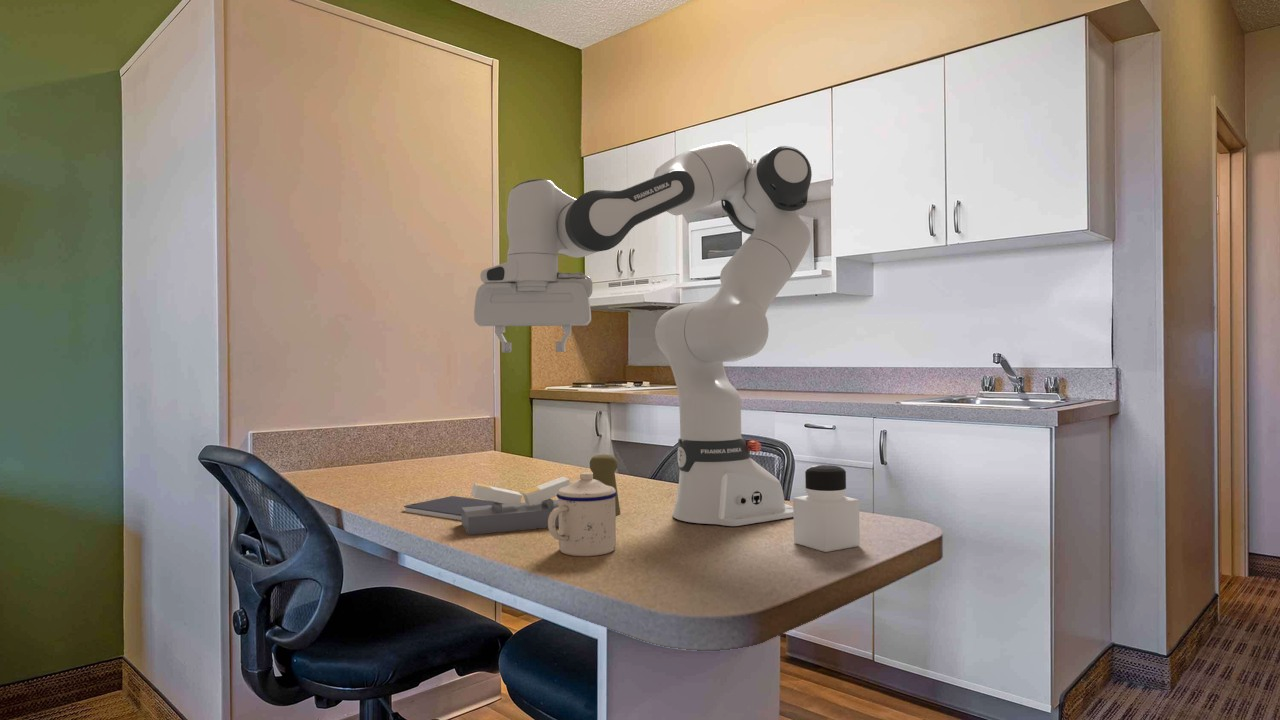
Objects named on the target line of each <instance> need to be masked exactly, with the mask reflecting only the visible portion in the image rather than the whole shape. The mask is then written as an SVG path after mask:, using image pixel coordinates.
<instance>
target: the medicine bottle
mask: <svg viewBox="0 0 1280 720" xmlns="http://www.w3.org/2000/svg"><path fill="white" fill-rule="evenodd" d="M846 473H847V471H846V470H845V469H844V468H842V467H841V466H838V465H831V464H825V465H824V464H816V465H811V466H809V467H807V468H806V469H805V471H804V477H805V479H804V481H805V482H804V483H805V487H804V488H805V489H804V490H805V493H806V494H807V495H801V496H795V497H793V499H792V500H793V501H792V504H793V506H792V507H793V514H794V517H793V543H794V544H797V545H799V546H803V547H807V548H810V549H813V550H817V551H819V552H824V553H829V552H834V551H839V550H844V549H845V550H846V549H850V548H851V549H852V548H856V547H857V548H858V547H860V544H861V543H860V538H861V537H860V534H861V533H860V500H859V499H857V498H852V497H848V496H845V495H846V494H847V474H846Z"/></svg>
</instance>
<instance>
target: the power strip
mask: <svg viewBox="0 0 1280 720" xmlns="http://www.w3.org/2000/svg"><path fill="white" fill-rule="evenodd" d="M557 507H558V499H552V498H550V499H547V500H544V501H542V502H539V503H536V504H534V505H531V506H529V505H528V504H527V503H526V502H525V501H524V502H520V506H519V507H518V506H513V505H508V504H501V503H499V502H494V501H492V505H487V506H475V507H462V520H461V525H462V527H463V528H464V530H465V533H467V535H468V536H471V535H472V536H473V535H484V534H493V533H494V534H495V533H504V532H505V533H506V531H507V532H515V531H516V530H518V531H527V530H526V529H528V530H537V529H536V528H539V529H547V528H546V527H548V518H549V515H550V513H551V512H552V511H553V510H554V509H555V508H557ZM555 526H556V528H559V514H558V516H557V517H556V521H555ZM516 532H517V531H516Z"/></svg>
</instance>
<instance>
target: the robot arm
mask: <svg viewBox="0 0 1280 720" xmlns="http://www.w3.org/2000/svg"><path fill="white" fill-rule="evenodd" d="M812 175H813V174H812V165H811V164H810V161H809V159H808V158H807V156H806V155H805V154H804V153H803V152H801V151H800V150H799V149H797V148H795V147H792V146H788V145H781V146H777V147H775V148H774V147H773V148H772V149H771V150H769V151H767V152H766V153H764V154H763V155H762V156H761V157H760V158H759V160H758V162H756V164H754V163H752V162H750V161H749V160H748V158H747V156H746V154H745V153H744V151H743V149H741V147H739V146H738V144H736V143H734V142H731V141H720V142H715V143H710V144H705V145H702V146H698V147H695V148H692V149H690V150H687V151H685V152H682V153H680V154H678V155H676V156H673V157H672V158H670V159H669V160H667V161H665V162H664V163H662V164H661V165H660V166H659V167H657V168H656V170H655V172H654V174H653V177H651V178H649V179H647V180H644V181H642V182H640V183H637V184H635V185H632V186H630V187H627V188H625V189H622V190H605V189H598V190H597V189H596V190H589V191H587V192H585V193H583V194H581V195H580V196H579V197H577V198H574V197H572V196H570V195H569V194H567V193H566V192H564V191H562V189H560V188H559V187H557V186H556V184H555V183H554V182H553V181H552V180H550V179H545V178H535V179H529V180H526V181H522V182H520V183H518V184H515V186H514V187H513V188H512V189H511V190H510V192H509V194H508V200H507V208H506V209H507V210H506V233H507V236H508V244H509V245H508V249H507V255H506V262H502V263H500V264H497V265H494V266H491V267H487V268H484V269H483V270H481V272H480V273H479V274H480V280H481V282H482V284H481V285H480V286H478V288H477V291H476V295H475V300H474V307H473V308H474V309H473V310H474V311H473V312H474V313H473V317H474V319H473V320H474V323H476V324H477V326H478V327H494V333H495V335H496V337H497V338H498V340H499V341H500V343H501V353H512V352H513V351H512V350H513V348H512V347H513V345H512V344H513V343H512V342H509V341H507V339H506V337H505V336H504V334H503V333H506V327H537V326H538V327H546V326H547V327H548V326H549V327H554V326H555V327H557V326H559V327H560V326H561V332H562V333H564V334H563V336H562V338H561V340H560V341H555V352H556V353H564V352H566V342H567V341H568V340H569V337H570V335H571V333H572V326H588V325H589V324H590V323H591V321H592V311H591V310H592V309H591V303H590V302H591V301H590V297H591V296H592V294H593V280H592V279H591V277H589V276H588V275H586V274H585V273H583V272H575V273H573V272H559V257H558V256H559V255H563V256H567V257H571V258H578V259H579V258H584V257H587V256H590V255H593V254H596V253H599V252H605V251H608V250H611V249H613V248H615V247H617V246H618V245H619V244H620V243H621V242H622V241H623V240H624V238H625V237H626V236H627V235H628V233H630V232H631V230H632V229H633V228H634V227H636V226H637V225H639V224H641V223H643V222H646V221H648V220H650V219H652V218H654V217H656V216H658V215H662V214H663V213H666V212H667V213H669V214H670V215H672V216H681V215H685V214H690V213H693V212H696V211H699V210H701V209H705V208H706V207H708V206H711V205H713V204H716V203H718V202H720V201H721V202H720V203H721V208H722V209H723V211H724V212H725V213H726V214H727V216H728V218H729V220H730V222H731V224H733V225H734V227H735V228H737V229H738V230H739V231H740V232H742V233H744V234H747V235H749V236H748V238H747V239H746V240H745V241H744V242H743V244H742V245H741V246H740V247H739V248H738V249H737V250H736V252H735V253H734V254H733V255H732V256H731V258H730V259H729V260H728V261H727V262H726V264H725V265H724V266H723V267H722V268H721V271H720V275H719V276H720V277H719V281H720V284H721V285H720V288H719V290H718V291H717V292H716V294H715V295H714V296H712V297H710V298H709V299H707V300H704V301H699V302H690V303H685V304H679V305H678V306H675V307H673V308H672V309H669V310H667V311H666V312H664V313H663V314H662V315H661V316H660V317H659V318H658V320H657V321H656V326H655V331H654V332H655V333H654V336H655V337H654V338H655V341H656V345H657V347H658V349H659V350H660V351H661V352H662V353H663V355H664V356H665V357H666V359H667V360H668V363H669V366H670V369H671V371H672V374H673V375H672V376H673V377H674V381H675V386H676V390H677V395H678V403H679V429H680V432H679V434H680V437H679V438H678V441H677V442H678V443H677V463H678V466H677V467H678V470H679V477H678V478H679V479H678V487H677V494H676V495H677V496H676V501H675V506H674V509H673V513H672V517H673V518H674V519H677V520H678V521H683V522H685V523H687V522H688V523H692V524H693V523H695V524H707V525H718V526H719V525H720V526H727V527H738V526H744V525H751V524H756V523H757V524H758V523H765V522H771V521H777V520H781V519H782V520H784V519H789V518H794V514H793V506H792V505H791V504H790V505H789V504H787V503H785V496H784V491H783V487H782V485H781V482H780V481H779V479H778V477H776V476H774V475H773V474H772V473H770V472H769V471H768V470H766V469H765V468H764V467H763V466H762V465H761V464H759V463H758V462H756V461H755V460H754V459H753V458H751V452H754V453H759V452H760V450H762V447H763V446H762V444H761V443H760V442H759V441H758V440H757V441H756V440H749V441H748V440H747V439H746V438H743V437H742V406H741V405H742V401H741V399H742V398H741V395H740V393H739V391H738V390H737V389H736V387H734V386H733V385H732V384H731V382H730V380H729V378H728V376H727V373H726V370H725V367H724V363H725V362H727V363H729V362H730V363H731V362H734V363H735V362H738V361H741V360H745V359H748V358H750V357H753V356H756V355H757V354H759V353H760V352H761V351H762V350H763V349H764V348H765V346H766V344H767V340H768V339H769V338H768V337H769V322H768V319H767V316H766V314H767V312H768V309H769V307H770V305H771V304H772V302H773V301H774V300H775V298H776V297H777V295H778V294H779V293H780V291H781V290H782V289H783V288H784V286H785V285H786V283H787V282H788V281H789V280H790V278H791V277H792V276H793V274H794V273H795V272H796V270H797V269H798V267H799V266H800V264H801V262H802V261H803V258H804V257H805V254H806V252H807V250H808V249H809V246H810V244H811V232H810V229H809V227H808V224H807V223H805V221H804V220H803V219H802V218H801V217H800V215H799V210H800V209H803V208H804V207H806V205H807V203H808V195H809V189H810V186H811V183H812Z"/></svg>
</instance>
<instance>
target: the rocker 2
mask: <svg viewBox="0 0 1280 720" xmlns="http://www.w3.org/2000/svg"><path fill="white" fill-rule="evenodd" d="M571 483H572V482H571V481H570V479H569V478H567V477H566V476H561V477H558V478H555V479H553V480H550V481H547V482H545V483H542V484H539V485H537V486H533V487H531V488H527V489H526V490H525V489H524V490H523V491H521V493H522V497H523V499H524V503H525V502H526V503H527V504H528V505H529V506H531V505H534V504H536V503H539V502H542V501H544V500H547V499H552V498H555V497H557V494H558V491H559V489H561V488H563V487H566V486H568V485H570V484H571Z"/></svg>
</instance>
